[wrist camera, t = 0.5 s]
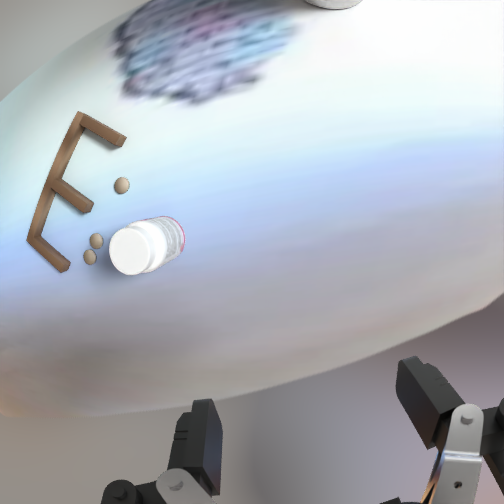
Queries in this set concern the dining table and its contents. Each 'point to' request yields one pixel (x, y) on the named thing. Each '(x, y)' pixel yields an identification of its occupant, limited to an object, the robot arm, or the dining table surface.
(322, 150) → the dining table surface
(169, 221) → the pill bottle
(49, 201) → the slot rack
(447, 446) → the robot arm
